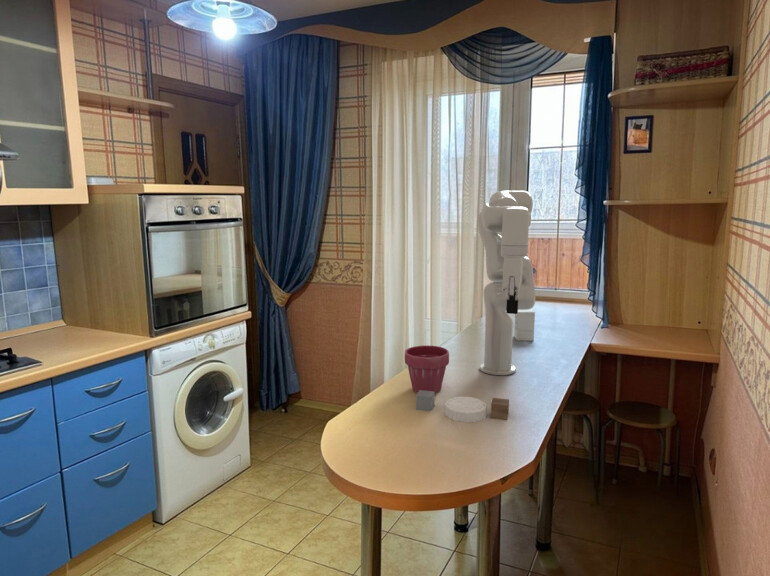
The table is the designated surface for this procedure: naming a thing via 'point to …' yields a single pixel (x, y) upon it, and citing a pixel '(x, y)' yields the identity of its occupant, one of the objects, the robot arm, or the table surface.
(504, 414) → the walnut block
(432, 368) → the plant pot
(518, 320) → the supplement box
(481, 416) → the mooncake
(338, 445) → the table surface
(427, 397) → the slate-grey block
